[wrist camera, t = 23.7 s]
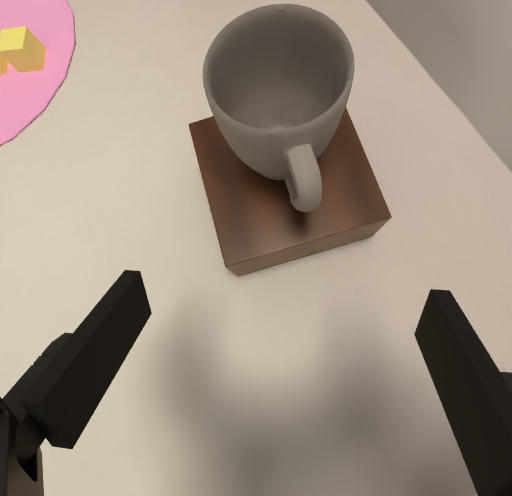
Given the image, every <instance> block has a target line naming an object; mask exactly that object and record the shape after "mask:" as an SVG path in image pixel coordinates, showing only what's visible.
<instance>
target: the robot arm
mask: <svg viewBox="0 0 512 496" xmlns="http://www.w3.org/2000/svg"><path fill="white" fill-rule="evenodd" d="M151 314H152V313H151V309H150V305H149V302H148V298H147V294H146V291H145V287H144V284H143V280H142V276H141V273H140V271H131V270H125V271H124V272H123V273H122V274H121V276H120V277H119V278H118V279H117V280H116V282H115V283H114V284H113V285H112V287H111V288H110V289H109V290H108V291H107V293H106V294H105V295H104V296H103V297H102V299H101V300H100V301H99V302H98V304H97V305H96V306H95V307H94V308H93V310H92V311H91V312H90V313H89V314H88V316H87V317H86V318H85V319H84V321H83V322H82V323H81V324H80V325H79V327H78V328H77V329H76V330H75V331H74V333H64V334H63V335H61V336H60V337H58V338H57V339H56V340H54V341H53V342H52V343H51V344H50V345H49V346H48V347H47V348H46V349H45V351H44V352H43V353H42V355H41V356H39V357H38V359H37V360H36V361H35V362H34V365H31V367H30V368H29V369H28V370H27V371H26V372H25V373H24V375H23V376H22V377H21V378H20V379H19V380H18V382H17V383H16V384H15V385H14V386H13V387H12V388H11V390H10V391H9V392H8V393H7V394H6V395H5V396H4V398H3V399H1V397H0V496H44V488H43V466H42V452H41V449H40V445H41V444H42V442H43V441H44V439H45V438H46V439H47V440H48V441H49V443H50V444H51V445H52V446H53V447H60V448H67V449H73V447H74V446H75V444H76V442H77V440H78V439H79V437H80V435H81V434H82V432H83V430H84V428H85V427H86V425H87V423H88V422H89V420H90V418H91V416H92V415H93V413H94V411H95V410H96V408H97V406H98V404H99V403H100V401H101V399H102V398H103V396H104V394H105V392H106V391H107V389H108V387H109V386H110V384H111V382H112V380H113V379H114V377H115V375H116V374H117V372H118V370H119V368H120V367H121V365H122V363H123V362H124V360H125V358H126V356H127V355H128V353H129V351H130V350H131V348H132V346H133V344H134V343H135V341H136V339H137V338H138V336H139V334H140V332H141V331H142V329H143V327H144V326H145V324H146V322H147V320H148V319H149V317H150V315H151ZM414 335H415V337H416V340H417V342H418V345H419V347H420V350H421V352H422V355H423V358H424V360H425V363H426V365H427V368H428V370H429V373H430V375H431V378H432V380H433V383H434V385H435V388H436V390H437V393H438V395H439V398H440V401H441V403H442V406H443V408H444V411H445V413H446V416H447V418H448V421H449V423H450V426H451V428H452V431H453V433H454V436H455V438H456V441H457V444H458V446H459V449H460V451H461V454H462V456H463V459H464V461H465V464H466V466H467V469H468V471H469V474H470V476H471V479H472V482H473V484H474V487H475V489H476V492H477V494H478V496H512V373H509V372H500V371H499V370H498V368H497V366H496V365H495V363H494V361H493V360H492V358H491V357H490V355H489V353H488V352H487V350H486V348H485V347H484V345H483V344H482V342H481V340H480V339H479V337H478V336H477V334H476V332H475V331H474V329H473V327H472V326H471V324H470V323H469V321H468V319H467V318H466V316H465V314H464V313H463V311H462V310H461V308H460V306H459V305H458V303H457V302H456V300H455V298H454V297H453V295H452V293H451V292H450V291H449V290H433V289H431V290H430V292H429V295H428V298H427V301H426V303H425V306H424V309H423V312H422V315H421V317H420V320H419V323H418V326H417V328H416V331H415V334H414Z"/></svg>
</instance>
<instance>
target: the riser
mask: <svg viewBox="0 0 512 496" xmlns="http://www.w3.org/2000/svg"><path fill="white" fill-rule="evenodd" d="M189 129H190V132H191V136H192V140H193V144H194V148H195V152H196V155H197V159H198V163H199V167H200V171H201V175H202V178H203V182H204V186H205V190H206V194H207V198H208V202H209V205H210V209H211V213H212V217H213V221H214V225H215V228H216V232H217V236H218V240H219V244H220V248H221V251H222V255H223V259H224V263H225V266H226V267H227V268H228V269H229V270H230V271H231V272H233V273H234V274H235V275H236V276H241V275H244V274H247V273H251V272H254V271H257V270H261V269H264V268H268V267H271V266H274V265H278V264H281V263H284V262H288V261H291V260H295V259H298V258H301V257H305V256H308V255H311V254H315V253H318V252H321V251H325V250H328V249H332V248H335V247H338V246H342V245H345V244H348V243H352V242H355V241H359V240H362V239H365V238H369V237H372V236H373V235H374V234H375V233H376V232H377V231H378V230H379V229H380V228H381V227H382V226H383V225H384V224H385V223H386V222H387V221H388V220H389V219H390V218H391V214H390V212H389V210H388V207H387V205H386V202H385V200H384V198H383V195H382V193H381V190H380V188H379V186H378V183H377V181H376V178H375V176H374V173H373V171H372V169H371V166H370V164H369V161H368V159H367V157H366V154H365V152H364V149H363V147H362V145H361V142H360V140H359V137H358V135H357V133H356V130H355V128H354V125H353V123H352V121H351V118H350V116H349V113H348V111H347V108H346V107H345V109H344V112H343V115H342V118H341V120H340V123H339V125H338V127H337V129H336V131H335V133H334V135H333V137H332V139H331V141H330V142H329V144H328V145H327V147H326V148H325V150H324V151H323V152H322V154H321V155H320V156H319V157H318V158H317V159H316V161H317V164H318V167H319V170H320V175H321V181H322V198H321V203H320V205H319V206H318V207H317V208H316V209H314V210H312V211H308V212H303V211H299V210H296V209H295V208H294V206H293V205H292V203H291V200H290V194H289V191H288V188H287V185H286V182H285V180H273V179H269V178H267V177H265V176H263V175H261V174H260V173H258V172H256V171H255V170H253V169H252V168H250V167H249V166H247V165H246V164H245V163H244V162H243V161H242V160H241V159H240V158H239V157H238V156H237V155H236V154H235V152H234V151H233V150H232V148H231V147H230V146H229V144H228V143H227V141H226V139H225V138H224V136H223V134H222V132H221V131H220V128H219V126H218V124H217V122H216V120H215V118H214V116H213V117H210V118H206V119H203V120H200V121H197V122H194V123H190V124H189Z"/></svg>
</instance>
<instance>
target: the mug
mask: <svg viewBox="0 0 512 496" xmlns="http://www.w3.org/2000/svg"><path fill="white" fill-rule="evenodd" d="M353 75H354V55H353V51H352V48H351V45H350V43H349V41H348V39H347V37H346V35H345V34H344V32H343V31H342V30H341V28H340V27H339V26H338V25H337V24H336V23H335V22H334V21H333V20H331V19H330V18H329V17H327V16H326V15H324V14H323V13H321V12H319V11H316V10H314V9H311V8H308V7H305V6H300V5H293V4H275V5H268V6H263V7H260V8H256V9H254V10H251V11H249V12H246V13H244V14H242V15H241V16H239V17H237V18H236V19H234V20H233V21H231V22H230V23H229V24H228V25H226V26H225V27H224V28H223V29H222V30H221V31H220V33H219V34H218V35H217V36H216V38H215V39H214V41H213V42H212V44H211V46H210V48H209V50H208V52H207V55H206V58H205V61H204V66H203V83H204V88H205V93H206V97H207V100H208V103H209V105H210V108H211V111H212V113H213V115H214V118H215V120H216V122H217V124H218V126H219V128H220V131H221V132H222V134H223V136H224V138H225V139H226V141H227V143H228V144H229V146H230V147H231V148H232V150H233V151H234V152H235V154H236V155H237V156H238V157H239V158H240V159H241V160H242V161H243V162H244V163H245V164H246V165H247V166H249V167H250V168H252V169H253V170H255V171H256V172H258V173H260V174H261V175H263V176H265V177H267V178H269V179H273V180H285V182H286V185H287V188H288V191H289V194H290V200H291V203H292V205H293V206H294V208H295V209H296V210H299V211H303V212H308V211H312V210H314V209H316V208H317V207H318V206H319V205H320V203H321V198H322V181H321V175H320V170H319V167H318V164H317V161H316V159H317V158H318V157H319V156H320V155H321V154H322V152H323V151H324V150H325V148H326V147H327V145H328V144H329V142H330V141H331V139H332V137H333V135H334V133H335V131H336V129H337V127H338V125H339V123H340V120H341V118H342V115H343V112H344V109H345V107H346V104H347V101H348V97H349V94H350V90H351V86H352V82H353Z"/></svg>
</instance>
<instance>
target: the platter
mask: <svg viewBox="0 0 512 496" xmlns="http://www.w3.org/2000/svg"><path fill="white" fill-rule="evenodd" d="M74 48H75V29H74V14H73V12H72V11H71V9H70V7H69V5H68V3H67V1H66V0H0V146H1V145H3V144H4V143H6V142H8V141H10V140H12V139H14V138H15V137H16V136H17V135H18V134H19V133H20V132H21V131H22V130H24V129H25V128H26V127H27V126H28V125H29V124H30V123H31V122H32V121H33V120H34V119H36V118H37V117H38V116H39V115H40V114H41V113H42V112H43V111H44V110H45V109H46V107H47V106H48V104H49V103H50V101H51V99H52V98H53V96H54V95H55V93H56V92H57V90H58V89H59V87H60V86H61V84H62V83H63V81H64V79H65V78H66V75H67V71H68V68H69V65H70V61H71V58H72V55H73V51H74Z"/></svg>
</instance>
